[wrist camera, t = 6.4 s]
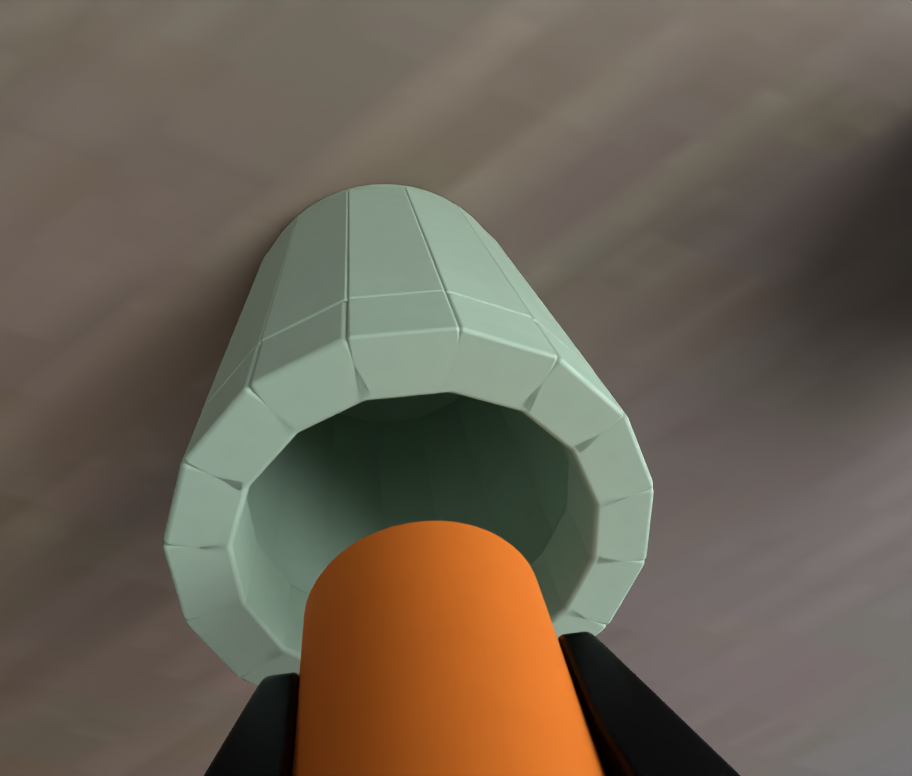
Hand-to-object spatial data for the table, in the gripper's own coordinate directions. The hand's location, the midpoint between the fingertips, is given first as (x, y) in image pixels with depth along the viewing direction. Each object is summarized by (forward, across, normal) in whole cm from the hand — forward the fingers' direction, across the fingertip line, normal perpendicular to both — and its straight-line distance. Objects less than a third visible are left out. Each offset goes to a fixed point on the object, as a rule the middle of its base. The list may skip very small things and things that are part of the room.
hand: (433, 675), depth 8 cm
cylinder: (+1, 0, 0) cm, 1 cm away
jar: (+13, 0, 0) cm, 13 cm away
